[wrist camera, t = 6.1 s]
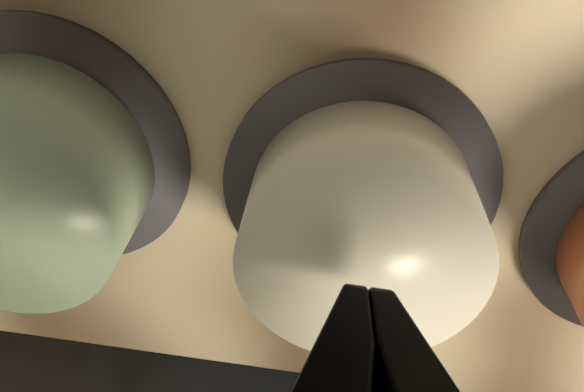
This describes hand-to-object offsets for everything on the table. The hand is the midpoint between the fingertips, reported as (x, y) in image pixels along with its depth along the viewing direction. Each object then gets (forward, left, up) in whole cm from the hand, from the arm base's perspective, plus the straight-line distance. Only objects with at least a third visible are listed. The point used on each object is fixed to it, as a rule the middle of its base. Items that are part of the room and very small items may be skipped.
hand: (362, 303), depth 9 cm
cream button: (0, 0, -3) cm, 3 cm away
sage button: (+7, 0, -3) cm, 8 cm away
